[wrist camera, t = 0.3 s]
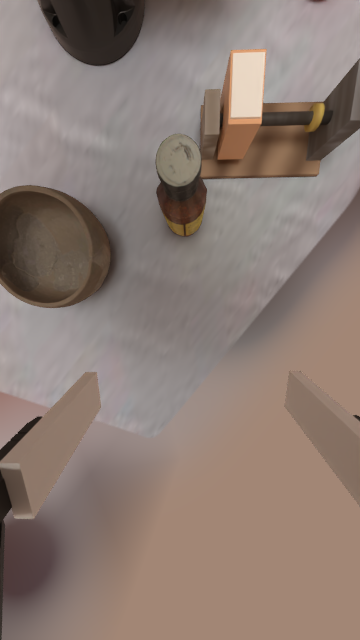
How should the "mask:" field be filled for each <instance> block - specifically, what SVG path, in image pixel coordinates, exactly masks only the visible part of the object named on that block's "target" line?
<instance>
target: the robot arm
mask: <svg viewBox="0 0 360 640" xmlns="http://www.w3.org/2000/svg"><path fill="white" fill-rule="evenodd" d="M38 3H39V5H40V8H41V10H42V13H43V15H44V17H45V19H46V21H47V22H48V24H49V26H50V28H51V30H52V32H53V34H54V35H55V37H56V39H57V40H58V42H59V43H60V44H61V45H62V47H63V48H64V49H65V50H66V51H67V52H68V53H69V54H71V55H72V56H73V57H75V58H76V59H78V60H80V61H82V62H85V63H88V64H93V65H103V64H108V63H111V62H113V61H115V60H117V59H119V58H120V57H122V56H123V55H124V54H125V53H126V52H127V51H128V50H129V49H130V48H131V46H132V45H133V43H134V42H135V40H136V38H137V36H138V34H139V31H140V28H141V25H142V21H143V16H144V6H145V0H38ZM100 408H101V402H100V394H99V386H98V379H97V372H86V373H85V374H84V375H83V376H82V377H81V378H80V379H79V380H78V381H77V382H76V383H75V384H74V385H73V386H72V387H71V388H70V389H69V390H68V391H67V392H66V393H65V394H64V395H63V396H62V398H61V399H60V400H59V401H58V402H57V403H56V404H55V405H54V406H53V407H52V408H51V409H50V410H49V411H48V412H47V413H46V414H45V415H44V416H43V417H37V418H35V419H33V420H32V421H30V422H29V423H27V424H26V425H25V426H24V427H23V428H22V429H21V430H20V431H19V432H18V434H16V435H15V436H14V437H13V438H12V439H11V441H9V442H8V443H7V444H6V445H5V446H4V447H3V448H2V449H1V450H0V640H1V635H2V634H1V633H2V603H3V569H4V537H5V524H4V521H3V519H4V517H5V516H6V514H7V513H8V512H9V510H10V509H11V508H12V511H13V515H14V518H15V519H34V517H35V516H36V514H37V513H38V511H39V509H40V508H41V506H42V504H43V502H44V501H45V499H46V498H47V496H48V494H49V493H50V491H51V489H52V488H53V486H54V484H55V483H56V481H57V479H58V478H59V476H60V474H61V473H62V471H63V469H64V468H65V466H66V464H67V463H68V461H69V459H70V458H71V456H72V454H73V453H74V451H75V449H76V448H77V446H78V444H79V443H80V441H81V440H82V438H83V436H84V434H85V433H86V431H87V429H88V428H89V426H90V424H91V423H92V421H93V420H94V418H95V416H96V415H97V413H98V411H99V410H100ZM285 408H286V409H287V410H288V412H289V413H290V414H291V416H292V417H293V418H294V420H295V421H296V422H297V424H298V425H299V426H300V428H301V429H302V430H303V432H304V433H305V434H306V436H307V437H308V438H309V440H310V441H311V442H312V444H313V445H314V446H315V448H316V449H317V450H318V452H319V453H320V454H321V455H322V457H323V458H324V459H325V461H326V462H327V464H328V465H329V466H330V468H331V469H332V470H333V472H334V473H335V474H336V476H337V477H338V478H339V480H340V481H341V482H342V484H343V485H344V486H345V488H346V489H347V490H348V491H349V493H350V494H351V496H352V497H353V498H354V500H355V501H356V502H357V504H358V505H359V506H360V417H359V416H357V415H352V414H350V413H349V412H348V411H347V410H346V409H344V408H343V407H342V406H341V405H340V404H339V403H337V402H336V401H335V400H334V399H333V398H332V397H330V396H329V395H328V394H327V393H326V392H324V391H323V390H322V389H321V388H320V387H319V386H317V385H316V384H315V383H314V382H313V381H312V380H310V379H309V378H308V377H307V376H306V375H304V374H303V373H302V372H301V371H289V376H288V384H287V391H286V399H285Z"/></svg>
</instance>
